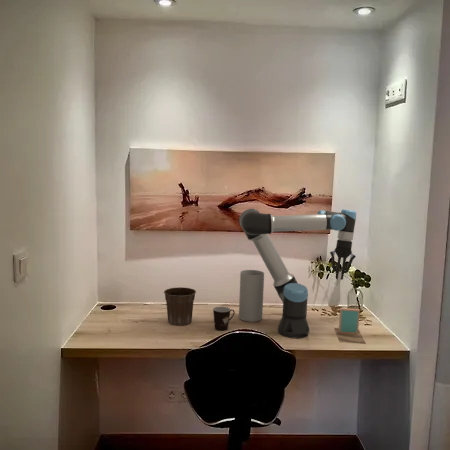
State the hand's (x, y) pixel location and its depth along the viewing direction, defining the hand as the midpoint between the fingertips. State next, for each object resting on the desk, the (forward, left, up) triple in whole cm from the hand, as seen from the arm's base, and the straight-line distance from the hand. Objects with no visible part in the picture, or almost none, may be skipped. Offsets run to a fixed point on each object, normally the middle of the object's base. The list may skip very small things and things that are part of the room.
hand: (338, 285), depth 232 cm
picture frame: (-1, -13, -20) cm, 24 cm away
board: (-2, -17, -21) cm, 27 cm away
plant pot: (-78, +21, -22) cm, 84 cm away
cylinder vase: (-40, +19, -22) cm, 49 cm away
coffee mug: (-58, +7, -22) cm, 62 cm away
